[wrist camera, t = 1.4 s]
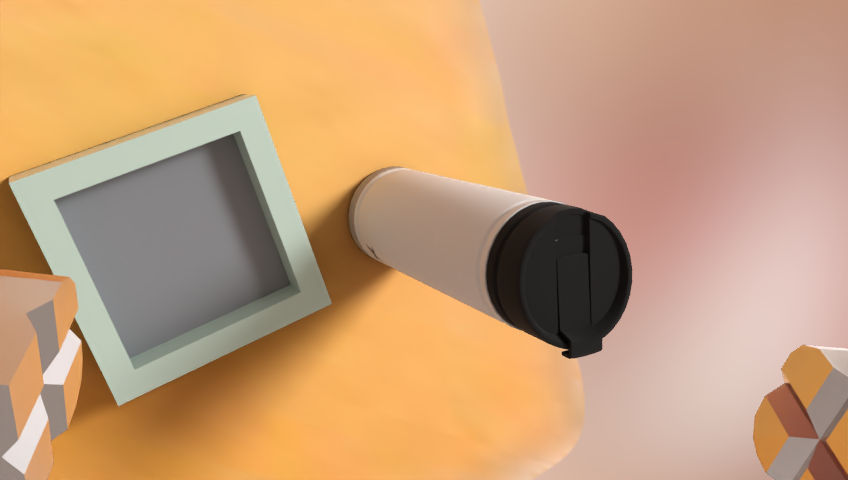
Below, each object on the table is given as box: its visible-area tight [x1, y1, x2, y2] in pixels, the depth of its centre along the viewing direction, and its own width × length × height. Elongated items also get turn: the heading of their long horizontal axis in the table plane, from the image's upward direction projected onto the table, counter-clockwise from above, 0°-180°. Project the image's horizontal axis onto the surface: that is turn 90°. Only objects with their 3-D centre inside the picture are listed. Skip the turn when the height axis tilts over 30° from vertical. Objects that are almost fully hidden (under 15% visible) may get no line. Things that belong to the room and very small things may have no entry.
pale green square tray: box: [9, 95, 332, 406], centre depth 44 cm, size 13×13×3 cm
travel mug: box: [349, 167, 632, 359], centre depth 42 cm, size 6×7×20 cm
